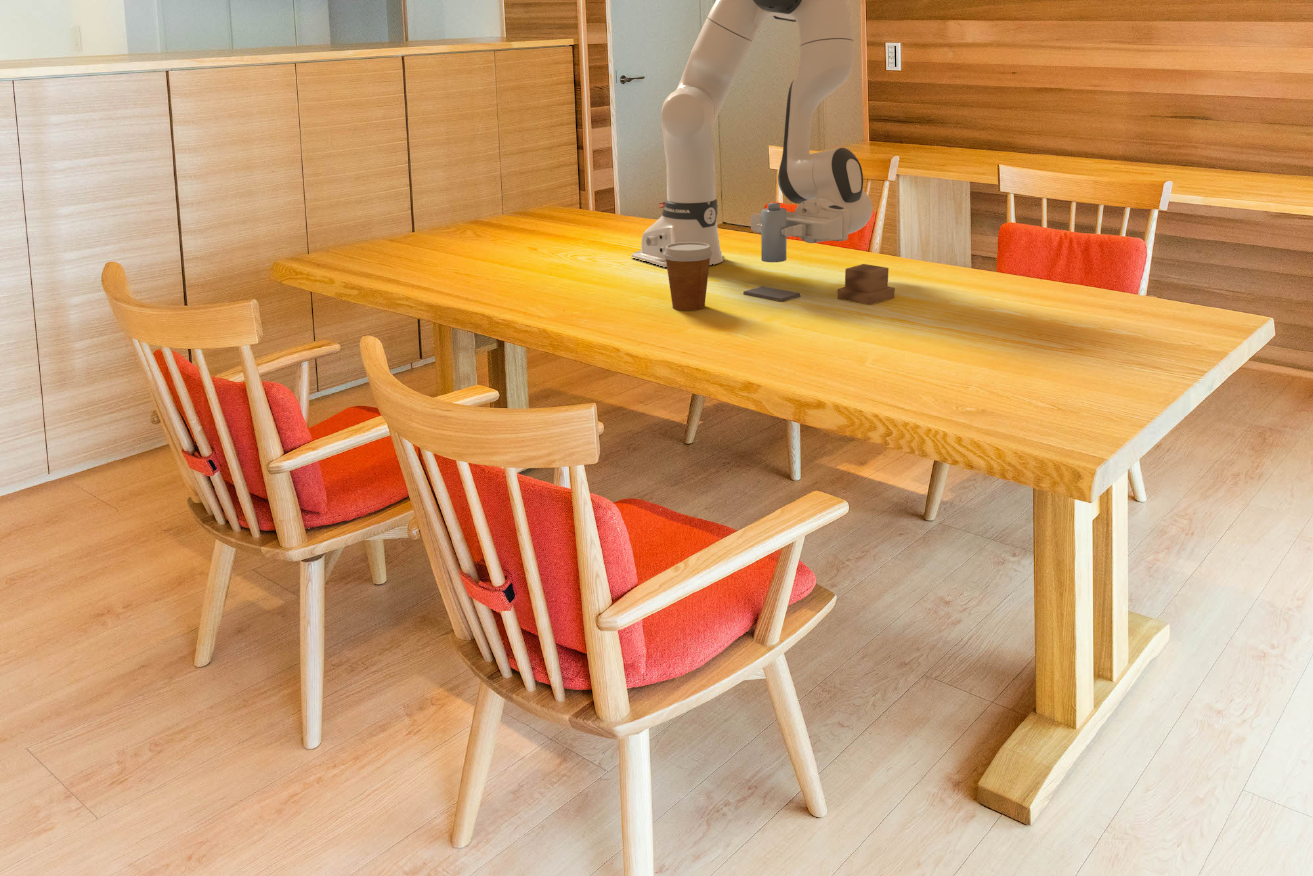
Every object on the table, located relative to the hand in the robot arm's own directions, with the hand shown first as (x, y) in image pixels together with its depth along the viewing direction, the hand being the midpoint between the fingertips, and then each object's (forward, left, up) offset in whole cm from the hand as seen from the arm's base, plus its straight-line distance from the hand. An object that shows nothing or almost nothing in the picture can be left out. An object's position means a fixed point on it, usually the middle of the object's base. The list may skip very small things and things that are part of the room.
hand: (771, 230), depth 226 cm
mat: (0, +1, -13) cm, 13 cm away
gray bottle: (0, +1, -6) cm, 6 cm away
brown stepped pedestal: (+16, +11, -13) cm, 23 cm away
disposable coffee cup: (-6, -17, -13) cm, 23 cm away
